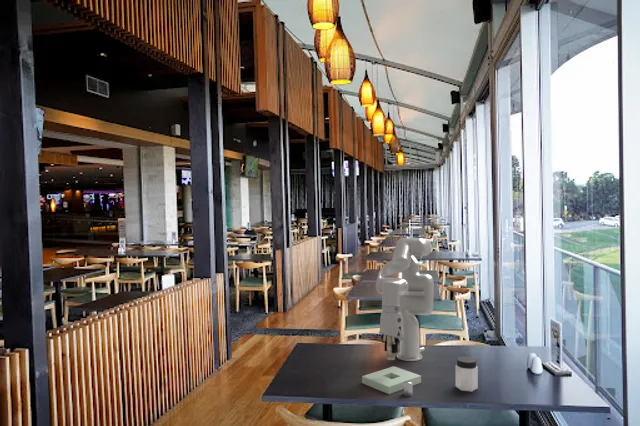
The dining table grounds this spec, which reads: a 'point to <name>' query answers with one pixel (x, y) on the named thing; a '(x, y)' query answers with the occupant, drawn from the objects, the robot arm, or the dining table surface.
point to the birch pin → (390, 349)
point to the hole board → (390, 379)
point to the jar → (466, 373)
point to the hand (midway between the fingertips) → (391, 351)
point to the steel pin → (408, 388)
